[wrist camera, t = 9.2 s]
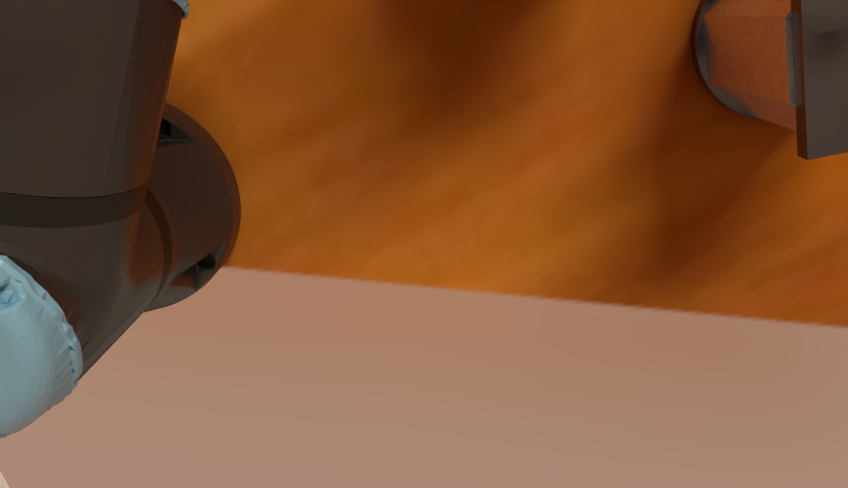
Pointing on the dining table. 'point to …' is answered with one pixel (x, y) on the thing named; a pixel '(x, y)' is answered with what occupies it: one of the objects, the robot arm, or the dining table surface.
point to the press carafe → (779, 65)
